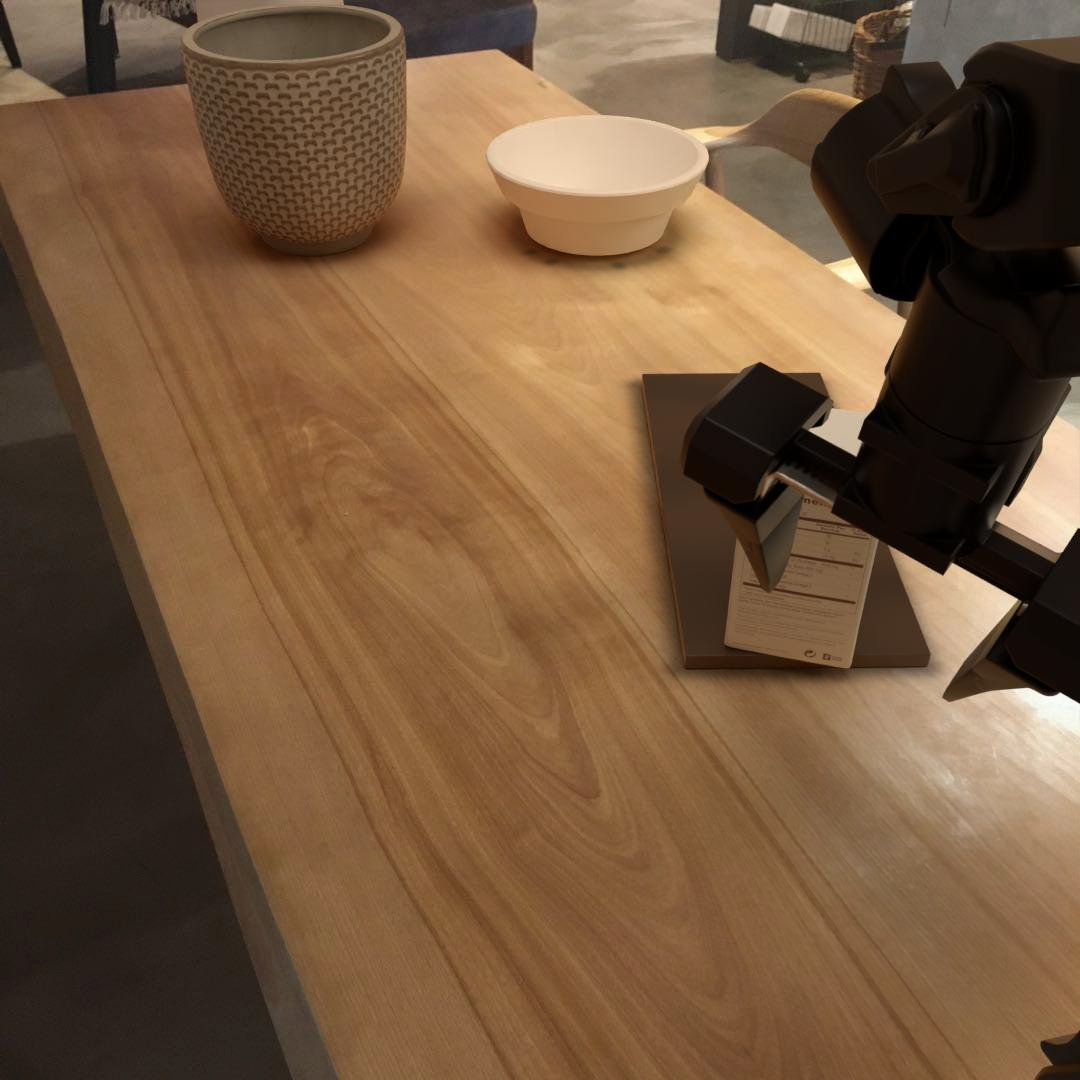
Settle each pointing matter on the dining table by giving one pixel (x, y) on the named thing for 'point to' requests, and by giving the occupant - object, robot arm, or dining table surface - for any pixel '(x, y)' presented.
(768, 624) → the white packaging box
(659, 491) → the board
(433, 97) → the dining table surface
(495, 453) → the dining table surface
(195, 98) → the planter
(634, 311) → the dining table surface
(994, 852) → the dining table surface
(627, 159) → the bowl
